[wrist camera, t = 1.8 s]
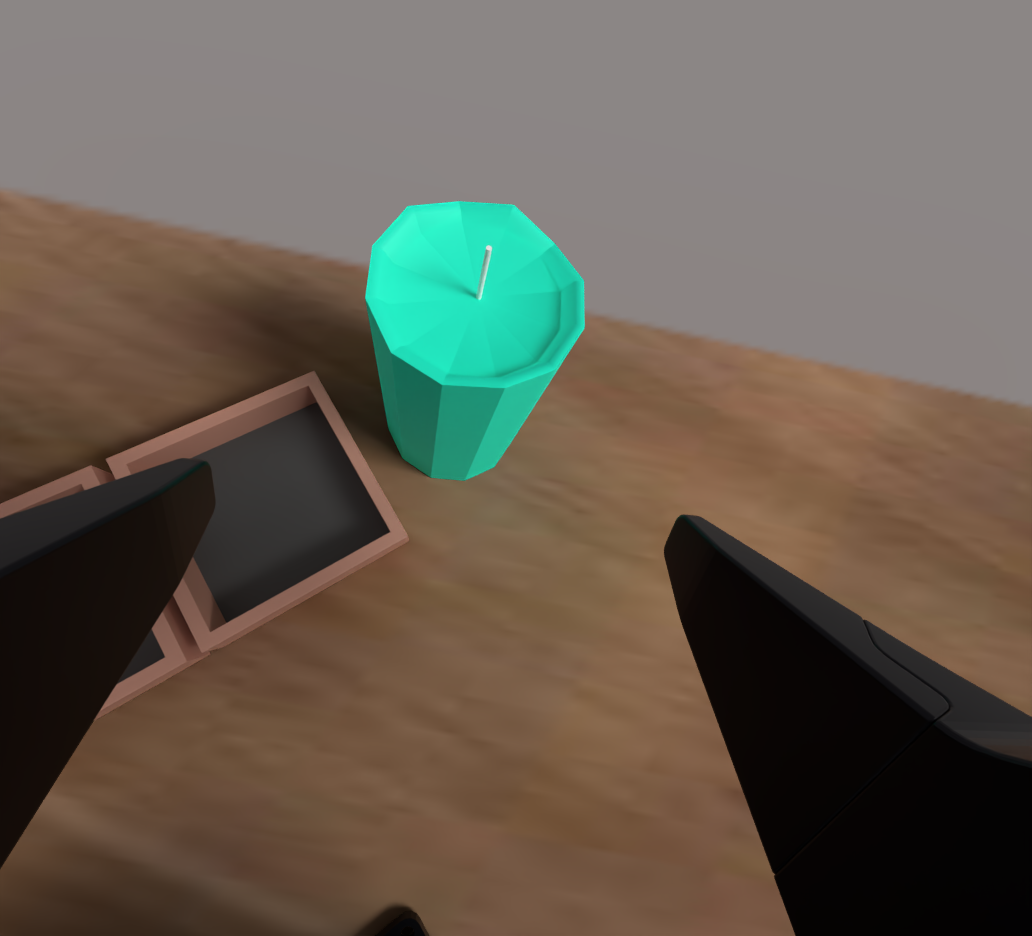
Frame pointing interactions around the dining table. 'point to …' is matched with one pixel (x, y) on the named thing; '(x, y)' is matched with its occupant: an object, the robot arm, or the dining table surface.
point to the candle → (467, 330)
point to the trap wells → (252, 521)
